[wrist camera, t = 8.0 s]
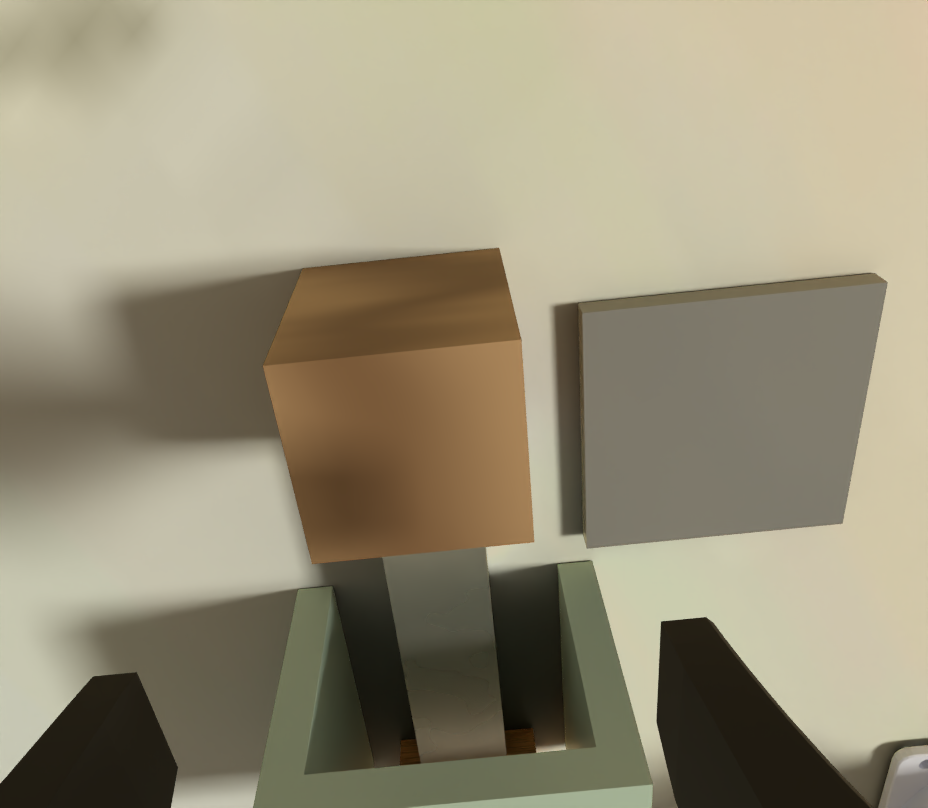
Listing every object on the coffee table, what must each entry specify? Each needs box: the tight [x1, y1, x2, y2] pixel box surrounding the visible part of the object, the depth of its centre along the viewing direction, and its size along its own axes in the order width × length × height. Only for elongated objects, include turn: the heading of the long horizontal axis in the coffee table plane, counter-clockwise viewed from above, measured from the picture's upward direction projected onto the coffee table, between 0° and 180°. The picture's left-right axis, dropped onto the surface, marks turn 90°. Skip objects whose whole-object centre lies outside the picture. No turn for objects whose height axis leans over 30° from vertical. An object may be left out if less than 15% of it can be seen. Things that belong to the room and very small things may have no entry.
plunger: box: [382, 547, 536, 766], centre depth 22 cm, size 4×14×4 cm, turn 5°
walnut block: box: [263, 248, 534, 564], centre depth 17 cm, size 4×4×5 cm
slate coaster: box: [578, 273, 888, 548], centre depth 20 cm, size 7×7×1 cm
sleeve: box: [253, 561, 653, 808], centre depth 21 cm, size 8×8×7 cm
